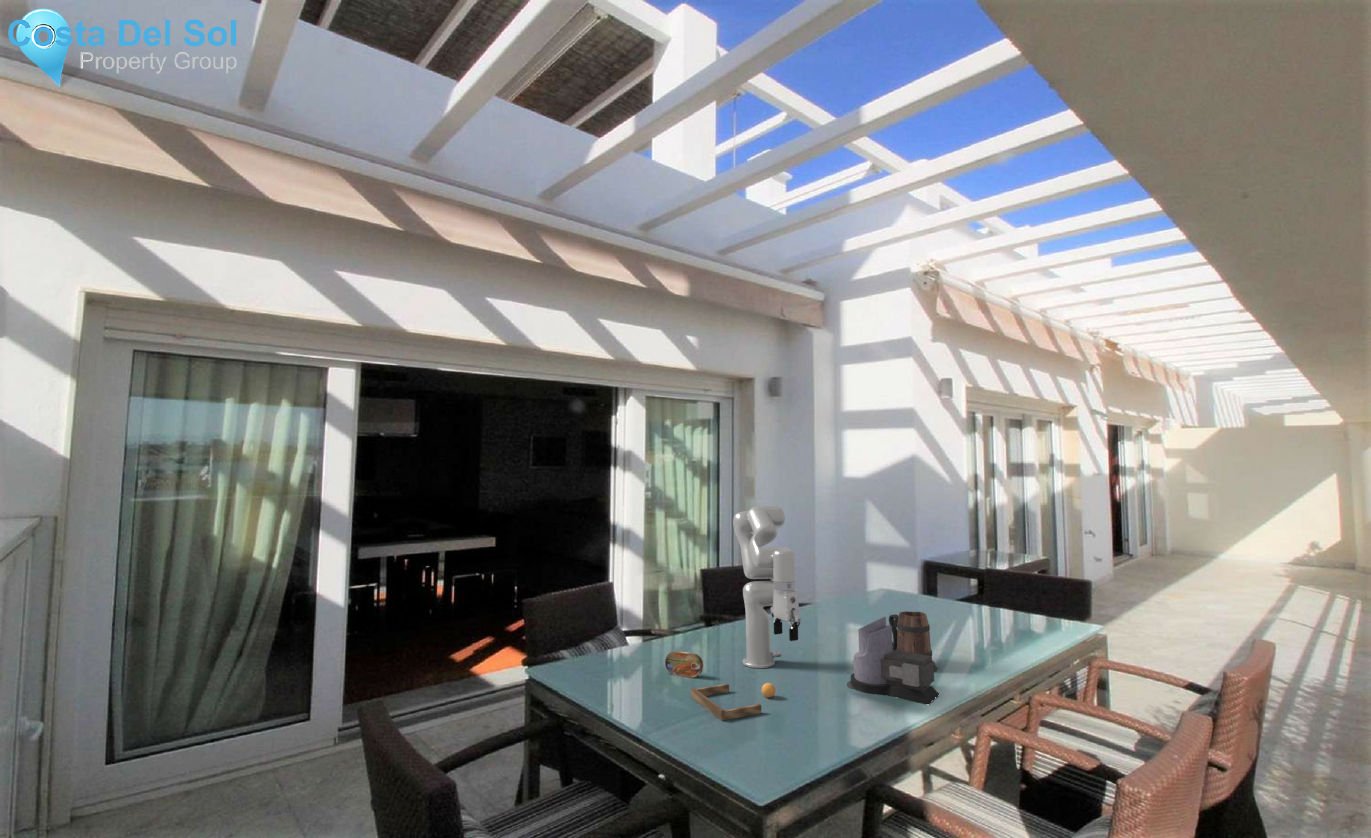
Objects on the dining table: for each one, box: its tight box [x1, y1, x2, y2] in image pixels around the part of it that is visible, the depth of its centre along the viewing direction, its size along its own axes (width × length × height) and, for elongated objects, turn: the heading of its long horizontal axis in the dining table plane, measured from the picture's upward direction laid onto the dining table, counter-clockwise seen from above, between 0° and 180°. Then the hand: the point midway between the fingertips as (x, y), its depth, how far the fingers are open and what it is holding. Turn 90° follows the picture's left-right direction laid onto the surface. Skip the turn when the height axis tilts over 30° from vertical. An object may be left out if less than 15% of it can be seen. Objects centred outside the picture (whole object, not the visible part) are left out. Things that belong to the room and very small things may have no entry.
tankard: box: [888, 610, 939, 673], centre depth 242 cm, size 24×17×20 cm
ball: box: [761, 682, 776, 698], centre depth 207 cm, size 4×4×4 cm
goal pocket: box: [690, 683, 762, 722], centre depth 200 cm, size 14×22×3 cm, turn 24°
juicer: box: [846, 616, 940, 705], centre depth 214 cm, size 30×16×24 cm, turn 50°
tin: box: [664, 650, 704, 679], centre depth 231 cm, size 15×3×8 cm, turn 62°
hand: (785, 637), depth 212 cm, fingers open, 9 cm apart
